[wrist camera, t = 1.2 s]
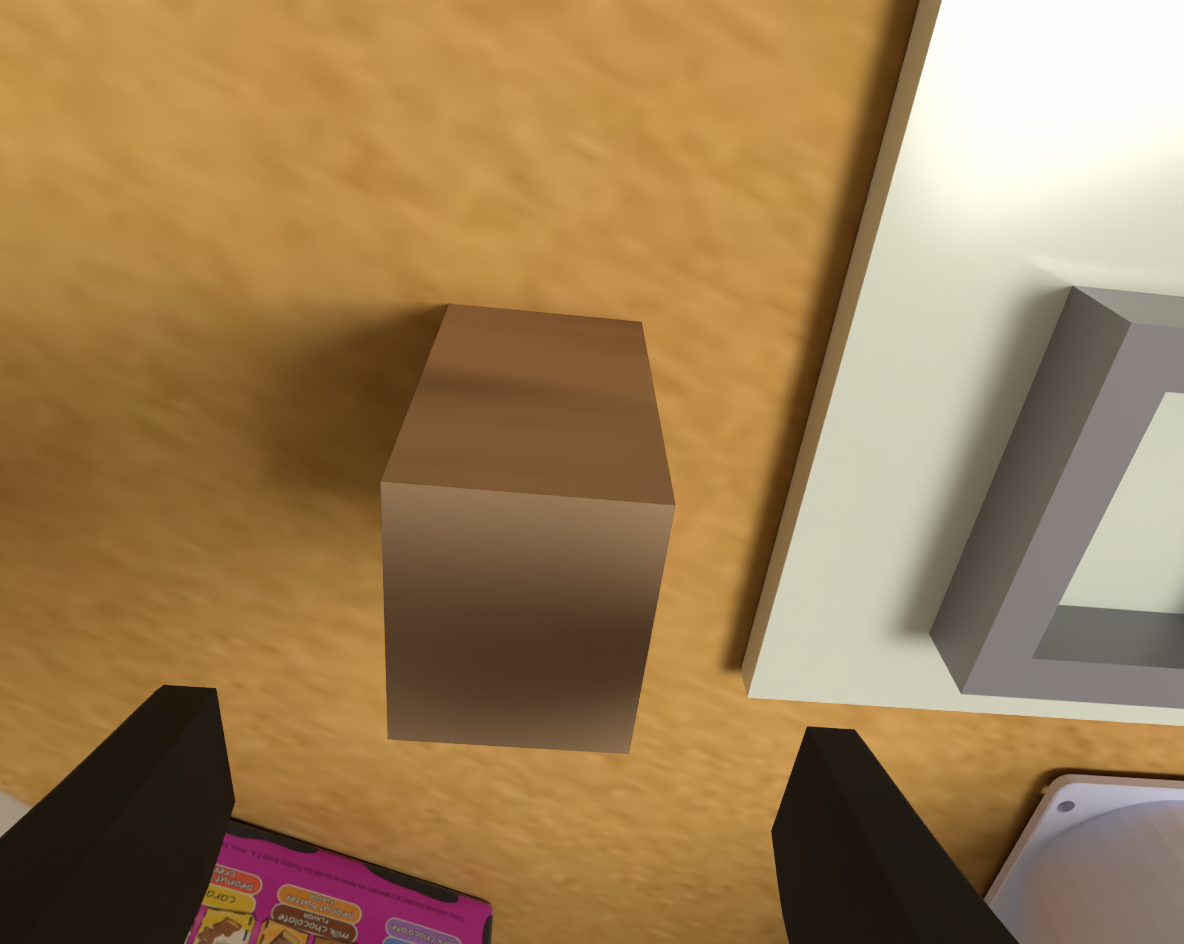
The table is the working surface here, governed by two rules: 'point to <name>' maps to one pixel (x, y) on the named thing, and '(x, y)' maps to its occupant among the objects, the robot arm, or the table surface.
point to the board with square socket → (1002, 386)
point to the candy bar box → (325, 899)
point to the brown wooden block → (524, 534)
